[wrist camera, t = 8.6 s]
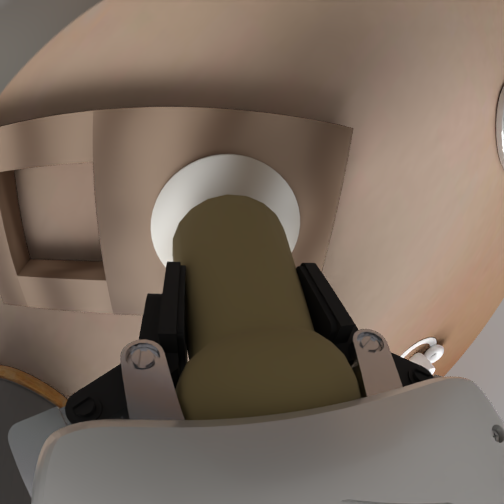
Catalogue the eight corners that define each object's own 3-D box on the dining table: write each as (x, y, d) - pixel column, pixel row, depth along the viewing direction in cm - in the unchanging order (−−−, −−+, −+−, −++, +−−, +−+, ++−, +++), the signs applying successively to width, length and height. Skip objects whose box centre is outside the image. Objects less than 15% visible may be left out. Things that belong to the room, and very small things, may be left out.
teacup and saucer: (444, 338, 35) (458, 356, 32) (412, 373, 38) (423, 391, 35) (418, 332, 32) (433, 353, 29) (381, 372, 35) (393, 393, 32)
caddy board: (335, 124, 18) (356, 128, 15) (300, 294, 24) (311, 316, 22) (-15, 130, 12) (-37, 137, 10) (15, 287, 19) (1, 306, 17)
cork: (265, 302, 17) (324, 478, 8) (164, 286, 15) (154, 489, 6) (302, 210, 15) (437, 384, 5) (185, 182, 13) (164, 402, 3)
